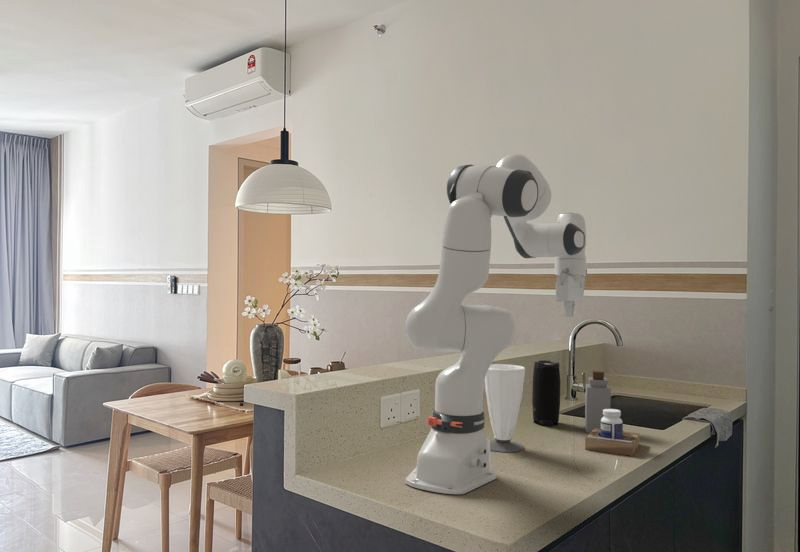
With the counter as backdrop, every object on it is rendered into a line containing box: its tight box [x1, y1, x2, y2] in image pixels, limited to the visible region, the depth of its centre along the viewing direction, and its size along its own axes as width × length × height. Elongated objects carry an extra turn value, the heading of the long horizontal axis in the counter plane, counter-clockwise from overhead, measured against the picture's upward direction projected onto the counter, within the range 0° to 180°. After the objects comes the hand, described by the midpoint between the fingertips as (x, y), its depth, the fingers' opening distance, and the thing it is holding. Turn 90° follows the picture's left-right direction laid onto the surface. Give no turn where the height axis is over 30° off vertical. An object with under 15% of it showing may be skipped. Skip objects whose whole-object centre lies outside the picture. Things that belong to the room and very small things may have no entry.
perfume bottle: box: [584, 370, 612, 434], centre depth 183 cm, size 7×7×18 cm
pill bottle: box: [601, 408, 624, 439], centre depth 165 cm, size 6×6×10 cm
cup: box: [484, 363, 526, 454], centre depth 163 cm, size 12×12×22 cm
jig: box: [584, 428, 640, 457], centre depth 165 cm, size 14×12×3 cm
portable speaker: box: [531, 359, 561, 427], centre depth 191 cm, size 9×9×20 cm
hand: (569, 316), depth 175 cm, fingers closed
